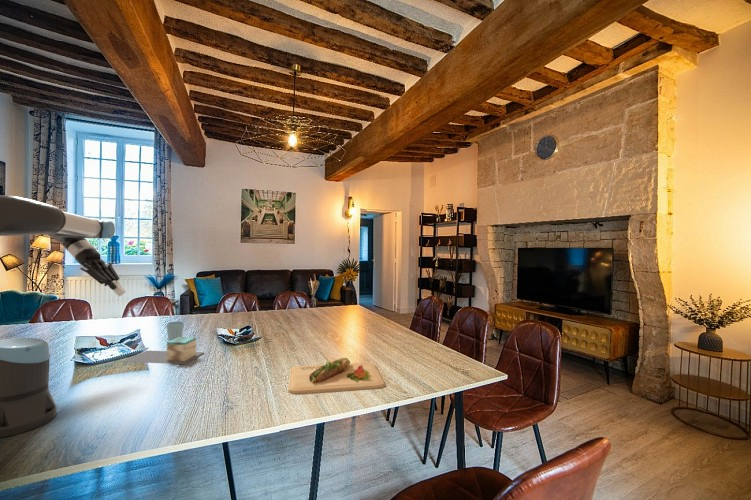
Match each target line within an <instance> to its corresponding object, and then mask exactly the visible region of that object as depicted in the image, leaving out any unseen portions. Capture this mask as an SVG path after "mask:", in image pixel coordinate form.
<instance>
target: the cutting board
mask: <svg viewBox="0 0 751 500" xmlns="http://www.w3.org/2000/svg"><path fill="white" fill-rule="evenodd" d="M385 385H386V384H385V381H384V380H383V378H382V376H381V374H380V373H379V371H378V369H377V367H376V365H375V363H371V362H357V363H356V362H352V363H351V360H350V359H349V358H348V357H341V358H339V359H336V360H332V361H326V362H325V364H314V365H312V364H311V365H297V366H293V367H291V370H290V375H289V384H288V393H290V394H293V395H297V394H311V393H312V394H313V393H327V392H340V391H341V392H342V391H353V390H354V391H355V390H370V389H381V388H382V387H385Z"/></svg>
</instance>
